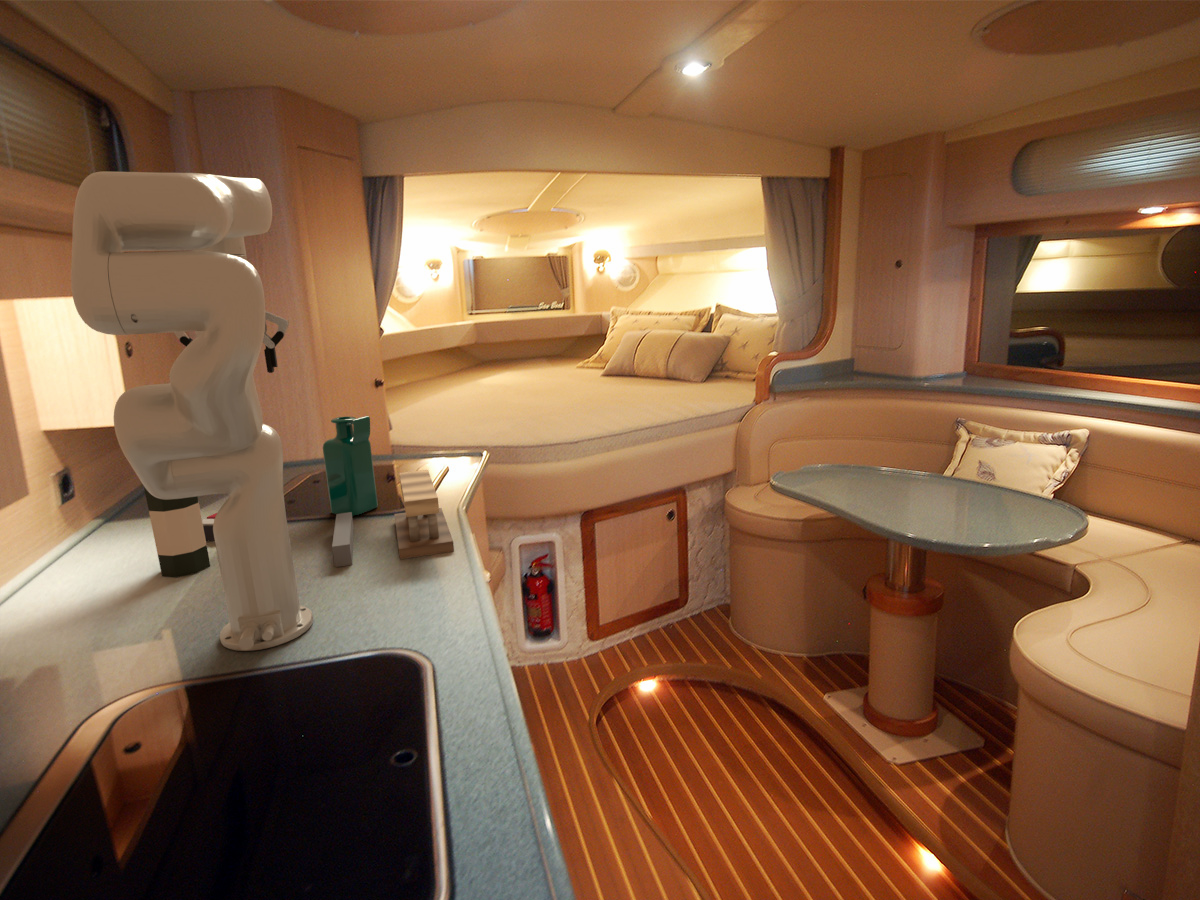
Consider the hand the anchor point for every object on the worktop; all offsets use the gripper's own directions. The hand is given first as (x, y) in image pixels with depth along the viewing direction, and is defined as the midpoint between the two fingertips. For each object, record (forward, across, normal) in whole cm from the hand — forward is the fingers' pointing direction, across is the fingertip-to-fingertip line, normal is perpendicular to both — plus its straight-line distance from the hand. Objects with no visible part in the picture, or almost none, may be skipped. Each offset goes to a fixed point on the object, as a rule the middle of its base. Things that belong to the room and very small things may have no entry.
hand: (239, 374), depth 113 cm
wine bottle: (+36, -16, +11) cm, 41 cm away
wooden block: (+28, +27, +10) cm, 40 cm away
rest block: (+36, +12, +10) cm, 40 cm away
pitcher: (+36, +14, +34) cm, 52 cm away
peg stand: (+36, +27, +10) cm, 46 cm away
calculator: (+37, -10, +32) cm, 50 cm away
